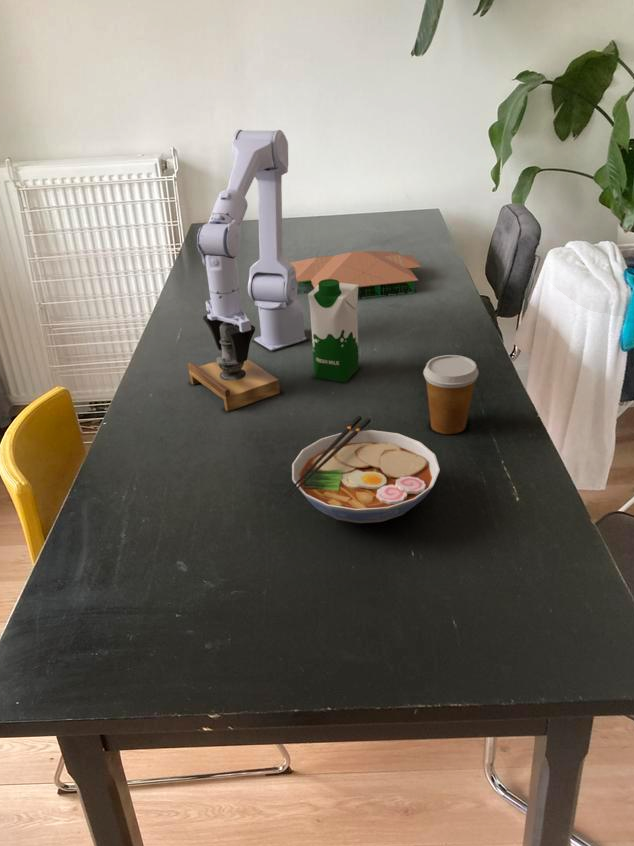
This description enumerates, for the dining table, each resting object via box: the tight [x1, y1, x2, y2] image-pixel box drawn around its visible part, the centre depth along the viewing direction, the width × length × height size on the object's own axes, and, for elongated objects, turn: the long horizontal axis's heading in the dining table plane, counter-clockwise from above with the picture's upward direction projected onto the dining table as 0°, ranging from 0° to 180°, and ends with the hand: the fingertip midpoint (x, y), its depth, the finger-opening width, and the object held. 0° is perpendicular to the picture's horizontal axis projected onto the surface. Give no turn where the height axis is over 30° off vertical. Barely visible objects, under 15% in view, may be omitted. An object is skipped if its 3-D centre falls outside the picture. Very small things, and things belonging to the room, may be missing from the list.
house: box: [289, 250, 422, 299], centre depth 207 cm, size 23×33×8 cm
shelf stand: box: [187, 358, 281, 412], centre depth 163 cm, size 12×16×4 cm
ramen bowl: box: [284, 415, 441, 524], centre depth 126 cm, size 25×23×8 cm
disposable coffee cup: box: [422, 354, 480, 435], centre depth 143 cm, size 10×10×12 cm
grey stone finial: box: [215, 322, 246, 381], centre depth 159 cm, size 6×6×12 cm
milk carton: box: [307, 279, 360, 383], centre depth 162 cm, size 9×9×20 cm
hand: (232, 354), depth 161 cm, fingers open, 7 cm apart
